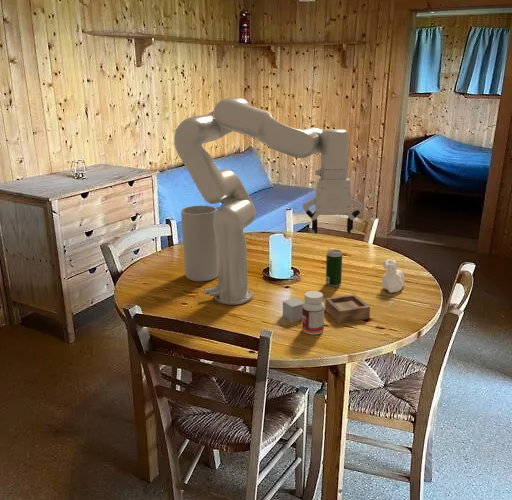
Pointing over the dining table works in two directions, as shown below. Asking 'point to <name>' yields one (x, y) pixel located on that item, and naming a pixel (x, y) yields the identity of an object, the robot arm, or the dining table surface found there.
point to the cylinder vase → (199, 243)
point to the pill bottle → (313, 313)
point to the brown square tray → (347, 308)
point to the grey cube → (293, 309)
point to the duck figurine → (392, 276)
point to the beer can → (333, 267)
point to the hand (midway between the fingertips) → (332, 232)
